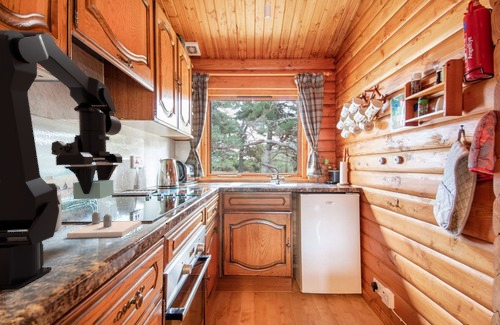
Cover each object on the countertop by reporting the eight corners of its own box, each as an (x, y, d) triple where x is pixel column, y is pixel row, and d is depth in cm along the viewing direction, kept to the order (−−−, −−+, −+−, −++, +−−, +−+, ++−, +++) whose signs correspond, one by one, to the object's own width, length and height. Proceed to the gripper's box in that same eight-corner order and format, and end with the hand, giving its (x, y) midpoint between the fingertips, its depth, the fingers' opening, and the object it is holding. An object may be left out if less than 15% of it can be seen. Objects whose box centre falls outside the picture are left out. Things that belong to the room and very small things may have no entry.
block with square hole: (100, 198, 60) (99, 182, 60) (73, 199, 60) (73, 183, 60) (113, 194, 66) (113, 180, 66) (89, 195, 66) (89, 180, 66)
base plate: (122, 236, 63) (122, 218, 63) (67, 237, 63) (66, 219, 63) (141, 224, 75) (141, 209, 75) (94, 225, 75) (94, 210, 75)
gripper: (84, 135, 72) (85, 188, 72) (29, 127, 53) (31, 199, 53) (122, 135, 72) (123, 187, 73) (81, 127, 54) (83, 197, 54)
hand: (94, 192), depth 63 cm, fingers closed on block with square hole, 6 cm apart
